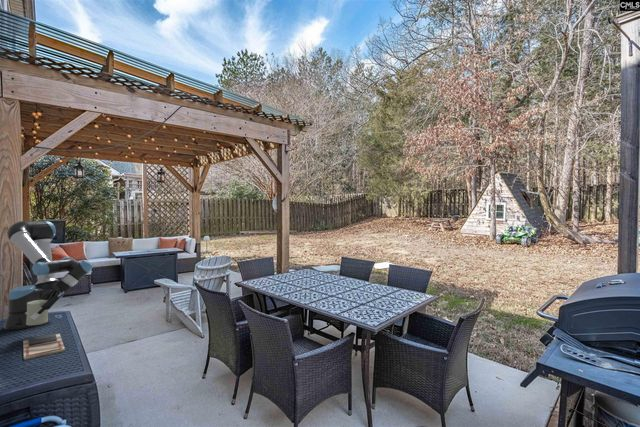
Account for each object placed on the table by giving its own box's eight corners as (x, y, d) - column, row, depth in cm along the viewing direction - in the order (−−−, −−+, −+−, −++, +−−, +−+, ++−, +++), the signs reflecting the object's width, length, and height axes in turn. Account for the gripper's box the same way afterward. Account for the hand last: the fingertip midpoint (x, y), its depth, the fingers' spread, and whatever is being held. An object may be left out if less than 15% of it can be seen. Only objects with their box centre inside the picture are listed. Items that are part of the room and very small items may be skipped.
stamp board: (23, 342, 168) (23, 338, 168) (59, 335, 178) (59, 331, 178) (23, 360, 148) (23, 356, 148) (64, 351, 158) (64, 347, 158)
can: (34, 326, 172) (35, 304, 172) (21, 324, 173) (22, 302, 173) (52, 320, 181) (53, 299, 181) (39, 318, 183) (40, 298, 182)
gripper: (78, 290, 183) (41, 324, 170) (65, 284, 196) (30, 315, 183) (67, 282, 179) (28, 317, 166) (55, 276, 191) (18, 308, 179)
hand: (29, 316), depth 174 cm, fingers closed on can, 9 cm apart
